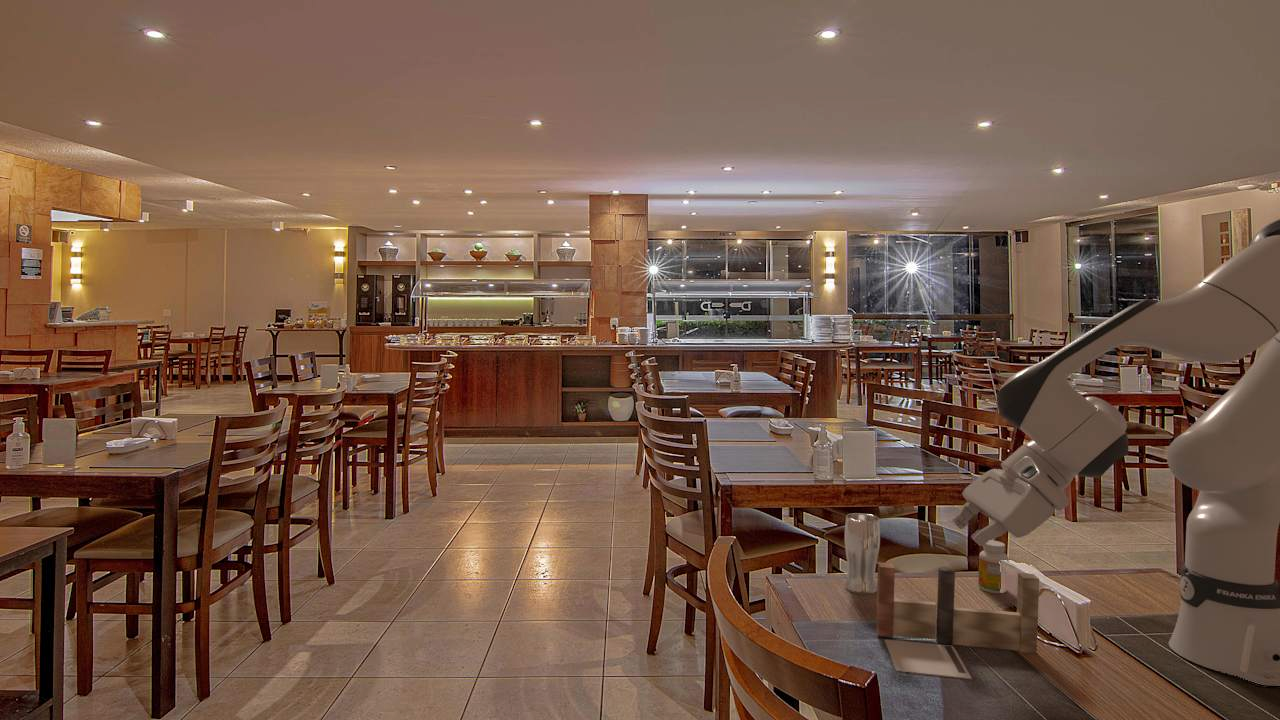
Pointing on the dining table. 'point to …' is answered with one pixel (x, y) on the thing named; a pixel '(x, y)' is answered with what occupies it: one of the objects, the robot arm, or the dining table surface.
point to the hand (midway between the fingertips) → (965, 533)
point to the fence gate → (901, 610)
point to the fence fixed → (988, 618)
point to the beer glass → (861, 551)
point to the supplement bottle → (991, 566)
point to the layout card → (927, 659)
